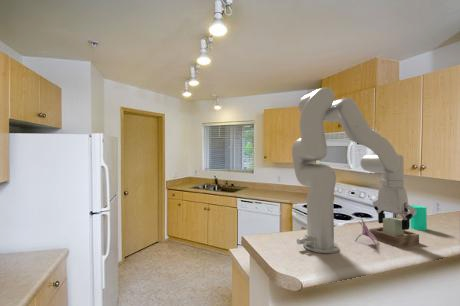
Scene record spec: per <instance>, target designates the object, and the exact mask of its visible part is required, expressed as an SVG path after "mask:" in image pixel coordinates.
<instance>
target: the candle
mask: <svg viewBox="0 0 460 306" xmlns="http://www.w3.org/2000/svg"><path fill="white" fill-rule="evenodd" d="M410 206H411V207H413V208H414V209H416V210H417V212H416V213H415V215H414V217H412V218H411V219H410V220H409V222H410V227H409V228H411V229H413V230H416V231H427V229H428V228H427V226H428V224H427V220H428V218H427V216H428V215H427V213H428V212H427V206H421V205H419V204H417V205H413V204H410Z"/></svg>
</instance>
